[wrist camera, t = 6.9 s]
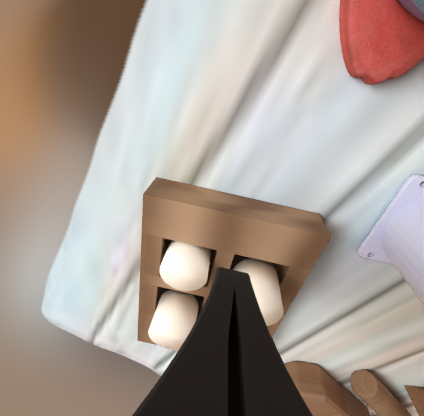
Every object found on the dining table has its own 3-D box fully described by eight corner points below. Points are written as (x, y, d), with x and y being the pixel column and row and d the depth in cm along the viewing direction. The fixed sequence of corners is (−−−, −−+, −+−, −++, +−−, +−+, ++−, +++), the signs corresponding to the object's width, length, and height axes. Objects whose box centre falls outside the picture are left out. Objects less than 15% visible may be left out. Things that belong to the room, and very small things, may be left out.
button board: (319, 214, 20) (333, 240, 17) (252, 341, 30) (253, 371, 27) (156, 177, 20) (140, 197, 17) (146, 317, 30) (135, 344, 27)
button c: (284, 264, 20) (291, 300, 17) (269, 295, 22) (273, 331, 19) (237, 254, 20) (236, 288, 17) (226, 285, 22) (224, 320, 19)
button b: (201, 294, 23) (195, 329, 20) (195, 318, 25) (189, 353, 22) (161, 285, 23) (149, 319, 20) (158, 310, 25) (147, 343, 22)
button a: (216, 234, 21) (211, 262, 18) (208, 266, 23) (203, 295, 20) (172, 225, 21) (161, 251, 18) (168, 257, 23) (157, 285, 20)
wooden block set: (353, 460, 34) (285, 410, 28) (340, 411, 39) (279, 359, 33) (502, 451, 27) (452, 381, 21) (463, 392, 32) (413, 322, 26)
